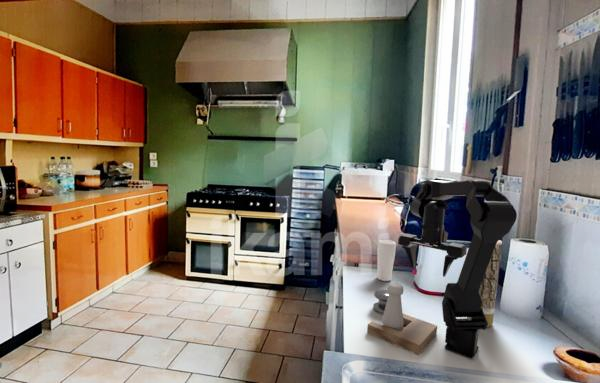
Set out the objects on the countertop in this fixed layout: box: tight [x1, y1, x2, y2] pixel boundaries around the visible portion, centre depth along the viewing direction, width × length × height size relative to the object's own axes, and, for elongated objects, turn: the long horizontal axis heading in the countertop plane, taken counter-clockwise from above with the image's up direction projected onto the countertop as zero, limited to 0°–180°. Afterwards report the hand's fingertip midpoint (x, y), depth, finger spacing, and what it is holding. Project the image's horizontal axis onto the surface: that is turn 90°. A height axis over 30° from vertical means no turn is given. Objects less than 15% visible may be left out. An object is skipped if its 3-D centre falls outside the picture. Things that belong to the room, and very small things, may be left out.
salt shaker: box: [381, 282, 404, 332], centre depth 92 cm, size 6×6×13 cm
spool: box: [372, 289, 389, 315], centre depth 104 cm, size 7×7×5 cm
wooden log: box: [466, 239, 503, 328], centre depth 98 cm, size 7×7×25 cm
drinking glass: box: [376, 239, 397, 282], centre depth 129 cm, size 7×7×15 cm
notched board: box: [366, 313, 438, 356], centre depth 90 cm, size 14×13×2 cm
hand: (428, 272), depth 102 cm, fingers open, 9 cm apart
